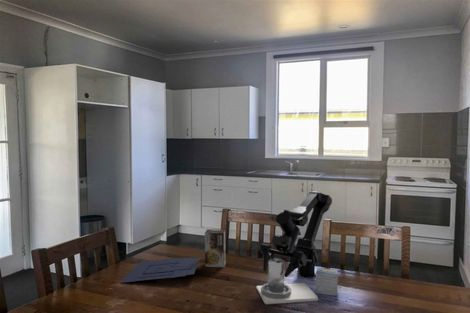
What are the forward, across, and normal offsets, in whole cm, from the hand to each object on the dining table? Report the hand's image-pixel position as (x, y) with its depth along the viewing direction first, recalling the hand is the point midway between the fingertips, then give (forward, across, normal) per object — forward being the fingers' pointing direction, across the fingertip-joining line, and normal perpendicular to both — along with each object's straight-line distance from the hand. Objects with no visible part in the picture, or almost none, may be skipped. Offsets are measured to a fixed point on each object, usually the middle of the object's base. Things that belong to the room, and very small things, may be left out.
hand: (274, 273), depth 136 cm
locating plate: (+3, +3, +9) cm, 10 cm away
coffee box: (-2, -39, +15) cm, 42 cm away
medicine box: (-4, +14, +17) cm, 23 cm away
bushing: (+4, 0, +6) cm, 8 cm away
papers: (+13, -50, 0) cm, 52 cm away
